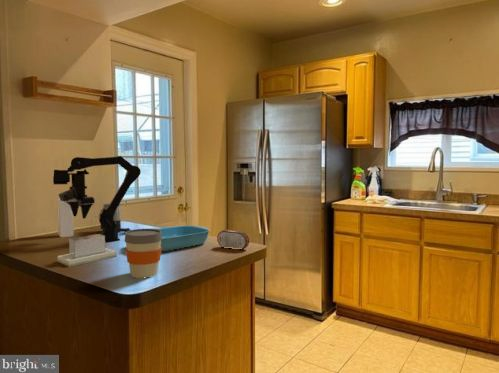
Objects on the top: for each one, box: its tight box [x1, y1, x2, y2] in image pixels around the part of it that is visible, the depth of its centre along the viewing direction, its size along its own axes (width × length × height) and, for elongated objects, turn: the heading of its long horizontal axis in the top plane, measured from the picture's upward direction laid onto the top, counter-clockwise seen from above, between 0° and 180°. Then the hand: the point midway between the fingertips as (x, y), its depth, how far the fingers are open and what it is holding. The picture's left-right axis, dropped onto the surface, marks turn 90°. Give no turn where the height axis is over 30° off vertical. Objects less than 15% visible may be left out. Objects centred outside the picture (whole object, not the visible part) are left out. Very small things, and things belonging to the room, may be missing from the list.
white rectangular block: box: [68, 233, 106, 260], centre depth 151 cm, size 5×12×8 cm, turn 139°
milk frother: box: [99, 203, 131, 233], centre depth 202 cm, size 14×16×15 cm
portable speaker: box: [217, 228, 250, 250], centre depth 169 cm, size 15×3×8 cm, turn 65°
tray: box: [57, 247, 117, 268], centre depth 151 cm, size 19×10×2 cm, turn 139°
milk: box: [56, 196, 74, 238], centre depth 192 cm, size 6×6×22 cm
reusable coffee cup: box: [124, 228, 162, 279], centre depth 132 cm, size 13×13×15 cm
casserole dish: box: [157, 224, 210, 253], centre depth 175 cm, size 37×22×7 cm, turn 134°
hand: (79, 217), depth 178 cm, fingers open, 9 cm apart
